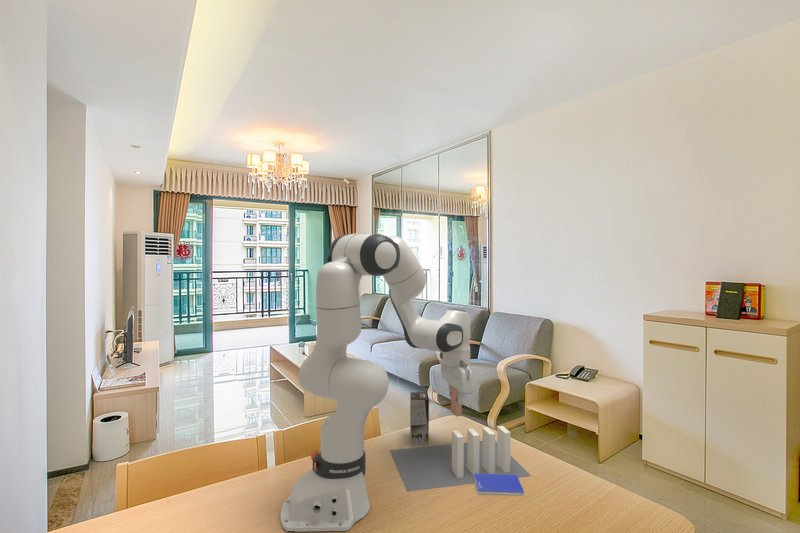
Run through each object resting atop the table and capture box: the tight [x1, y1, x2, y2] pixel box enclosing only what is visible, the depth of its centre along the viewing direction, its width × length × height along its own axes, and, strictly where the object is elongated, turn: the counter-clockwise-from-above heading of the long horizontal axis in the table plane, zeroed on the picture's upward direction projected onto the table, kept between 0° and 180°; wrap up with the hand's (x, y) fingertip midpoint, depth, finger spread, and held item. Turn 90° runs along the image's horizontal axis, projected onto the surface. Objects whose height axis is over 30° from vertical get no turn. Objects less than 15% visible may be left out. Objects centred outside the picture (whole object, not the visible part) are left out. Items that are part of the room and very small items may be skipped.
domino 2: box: [466, 428, 481, 476], centre depth 122 cm, size 2×5×12 cm, turn 12°
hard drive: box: [474, 473, 525, 496], centre depth 114 cm, size 2×8×12 cm
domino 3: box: [481, 426, 496, 474], centre depth 123 cm, size 2×5×12 cm, turn 13°
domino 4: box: [496, 425, 511, 472], centre depth 124 cm, size 2×5×12 cm, turn 13°
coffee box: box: [409, 391, 430, 446], centre depth 144 cm, size 9×6×16 cm
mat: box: [389, 440, 532, 492], centre depth 128 cm, size 38×25×1 cm, turn 103°
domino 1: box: [451, 429, 465, 478], centre depth 121 cm, size 2×5×12 cm, turn 12°
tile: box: [450, 386, 463, 418], centre depth 133 cm, size 2×5×12 cm, turn 13°
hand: (456, 399), depth 133 cm, fingers closed on tile, 5 cm apart
